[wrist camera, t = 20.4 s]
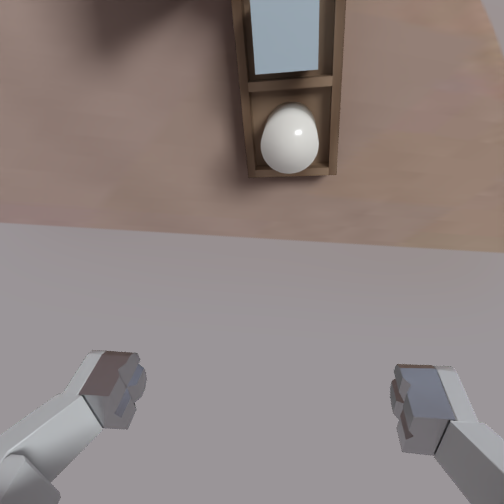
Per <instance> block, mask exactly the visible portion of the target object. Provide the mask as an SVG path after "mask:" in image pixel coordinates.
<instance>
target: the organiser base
mask: <svg viewBox="0 0 504 504" xmlns="http://www.w3.org/2000/svg"><path fill="white" fill-rule="evenodd" d="M231 5H232V15H233V25H234V35H235V45H236V55H237V66H238V76H239V86H240V96H241V106H242V117H243V127H244V137H245V147H246V157H247V168H248V178H257V177H287V176H317V175H336V174H337V156H338V137H339V119H340V101H341V83H342V65H343V47H344V29H345V10H346V0H319V48H318V70H306V71H294V72H281V73H269V74H257V75H255V63H254V49H253V35H252V22H251V8H250V0H231ZM289 101H294V102H299V103H302V104H304V105H305V106H306V107H308V108H309V109H310V111H311V112H312V114H313V116H314V118H315V123H316V129H317V134H318V141H319V147H318V152H317V155H316V157H315V159H314V161H313V162H312V163H311V164H310V165H309V166H308V167H307V168H306V169H304V170H302V171H300V172H297V173H292V174H286V173H281V172H278V171H276V170H274V169H272V168H271V167H270V166H269V165H268V164H267V163H266V161H265V160H264V158H263V156H262V152H261V139H262V135H263V132H264V129H265V125H266V122H267V119H268V116H269V115H270V113H271V112H272V110H273V109H274V108H275V107H277V106H278V105H280V104H282V103H284V102H289Z"/></svg>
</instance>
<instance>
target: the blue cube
mask: <svg viewBox="0 0 504 504" xmlns="http://www.w3.org/2000/svg"><path fill="white" fill-rule="evenodd" d="M250 8H251V22H252V35H253V49H254V63H255V75H257V74H269V73H281V72H294V71H306V70H318V48H319V0H250Z"/></svg>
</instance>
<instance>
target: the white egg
mask: <svg viewBox="0 0 504 504" xmlns="http://www.w3.org/2000/svg"><path fill="white" fill-rule="evenodd" d="M318 147H319V141H318V134H317V129H316V123H315V118H314V116H313V114H312V112H311V111H310V109H309V108H308V107H306V106H305V105H304V104H302V103H299V102H294V101H289V102H284V103H282V104H280V105H278V106H277V107H275V108H274V109H273V110H272V112H271V113H270V115H269V116H268V119H267V122H266V125H265V129H264V132H263V135H262V139H261V152H262V156H263V158H264V160H265V161H266V163H267V164H268V165H269V166H270V167H271V168H272V169H274V170H276V171H278V172H281V173H286V174H292V173H297V172H300V171H302V170H304V169H306V168H307V167H308V166H309V165H310V164H311V163H312V162H313V161H314V159H315V157H316V155H317V152H318Z"/></svg>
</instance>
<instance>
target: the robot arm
mask: <svg viewBox="0 0 504 504" xmlns="http://www.w3.org/2000/svg"><path fill="white" fill-rule="evenodd" d="M139 361H140V358H139V356H138V354H137V353H130V352H114V351H100V350H92V351H91V352H90V353H88V354H87V356H86V358H85V359H84V361H83V362H82V364H81V365H80V367H79V368H78V370H77V372H76V373H75V375H74V376H73V378H72V379H71V381H70V382H69V384H68V385H67V387H66V389H65V390H64V392H63V393H62V394H57V395H56V396H54V397H53V398H52V399H50V400H49V401H47V402H46V403H45V404H43V405H42V406H40V407H39V408H38V409H36V410H35V411H33V412H32V413H30V414H29V415H28V416H26V417H25V418H24V419H22V420H21V421H19V422H18V423H16V424H15V425H14V426H12V427H11V428H9V429H8V430H7V431H5V432H4V433H2V434H1V435H0V504H58V502H59V500H60V498H61V497H60V492H59V491H58V490H57V489H56V488H55V487H54V486H53V485H52V484H51V482H52V481H53V480H54V479H55V478H56V477H57V475H59V474H60V473H61V472H62V471H63V470H64V469H65V468H66V467H67V466H68V465H69V464H70V462H72V461H73V459H75V458H76V457H77V456H78V454H80V452H81V451H82V450H83V449H84V448H85V447H86V446H87V445H88V444H89V443H90V442H91V441H92V440H93V439H94V438H95V437H96V436H97V435H98V434H99V433H100V432H101V431H102V430H103V428H110V429H111V428H112V429H128V427H129V425H130V423H131V421H132V418H133V416H134V414H135V411H136V407H135V402H136V401H137V400H138V399H139V398H140V397H141V396H142V394H143V392H144V389H145V386H146V372H145V369H144V368H143V367H142V366H141V365H139V364H138V363H139ZM394 374H395V378H396V379H394V380H393V381H392V382H391V388H390V398H391V405H392V410H393V413H394V415H395V416H396V417H397V418H398V419H399V422H398V425H397V432H398V436H399V441H400V445H401V449H402V452H406V453H415V454H424V455H433V456H434V458H435V459H436V460H437V462H438V463H439V464H440V465H441V466H442V468H443V469H444V470H445V472H446V473H447V474H448V475H449V477H450V478H451V479H452V480H453V482H454V483H455V484H456V485H457V487H458V488H459V489H460V491H461V492H462V493H463V494H464V496H465V497H466V498H467V499H468V501H469V502H470V503H471V504H504V440H503V439H502V438H501V437H500V436H499V435H498V434H497V433H495V431H493V430H492V429H491V428H490V427H489V426H488V425H486V423H481V422H478V419H477V417H476V415H475V413H474V410H473V408H472V406H471V403H470V401H469V399H468V396H467V394H466V392H465V390H464V387H463V385H462V383H461V380H460V378H459V376H458V374H457V372H456V370H455V369H454V368H453V367H451V366H450V367H449V366H432V365H407V364H397V365H396V366H395V370H394Z"/></svg>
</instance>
